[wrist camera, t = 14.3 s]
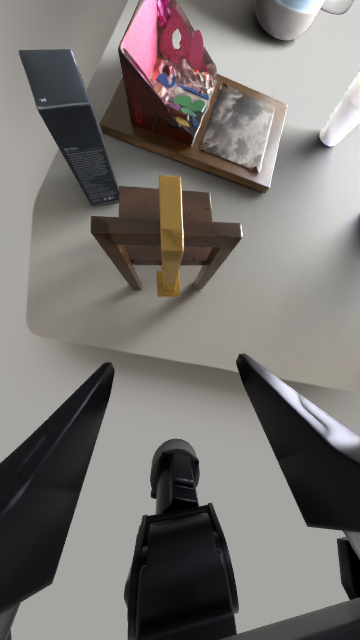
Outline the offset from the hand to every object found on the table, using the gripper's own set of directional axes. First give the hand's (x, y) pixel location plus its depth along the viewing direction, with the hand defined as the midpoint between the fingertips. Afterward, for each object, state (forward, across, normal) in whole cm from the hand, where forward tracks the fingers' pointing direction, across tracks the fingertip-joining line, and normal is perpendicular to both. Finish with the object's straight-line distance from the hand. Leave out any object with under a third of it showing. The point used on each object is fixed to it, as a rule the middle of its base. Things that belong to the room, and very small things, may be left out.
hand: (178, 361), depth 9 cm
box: (+30, +12, -14) cm, 35 cm away
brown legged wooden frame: (+20, 0, -3) cm, 21 cm away
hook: (+15, 0, -1) cm, 16 cm away
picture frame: (+41, -8, -27) cm, 50 cm away
